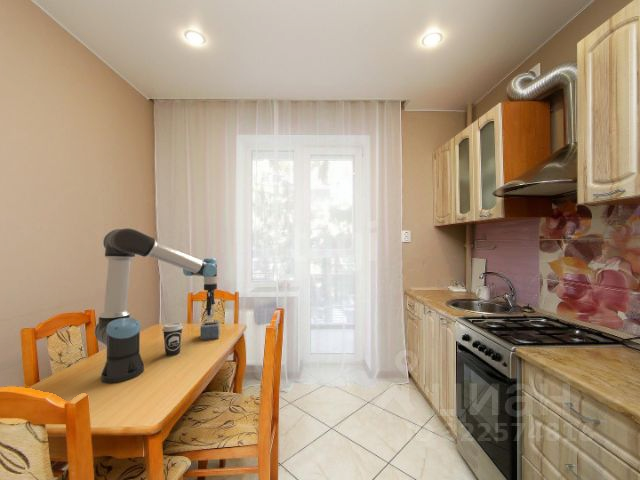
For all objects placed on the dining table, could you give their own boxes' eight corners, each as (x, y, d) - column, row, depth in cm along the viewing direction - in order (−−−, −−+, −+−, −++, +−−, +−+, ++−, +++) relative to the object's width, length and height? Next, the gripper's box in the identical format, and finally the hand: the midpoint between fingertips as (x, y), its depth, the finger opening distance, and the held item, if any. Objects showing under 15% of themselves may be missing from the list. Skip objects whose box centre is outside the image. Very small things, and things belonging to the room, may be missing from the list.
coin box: (218, 338, 160) (218, 325, 160) (200, 340, 157) (200, 327, 157) (219, 333, 169) (219, 320, 169) (203, 335, 166) (203, 322, 167)
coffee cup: (186, 350, 143) (186, 322, 143) (175, 357, 133) (175, 327, 133) (170, 349, 144) (170, 321, 144) (157, 357, 134) (157, 327, 134)
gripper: (214, 285, 153) (214, 322, 152) (218, 280, 177) (218, 312, 176) (200, 286, 151) (200, 324, 150) (206, 280, 175) (206, 313, 174)
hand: (210, 317), depth 163 cm, fingers open, 13 cm apart
